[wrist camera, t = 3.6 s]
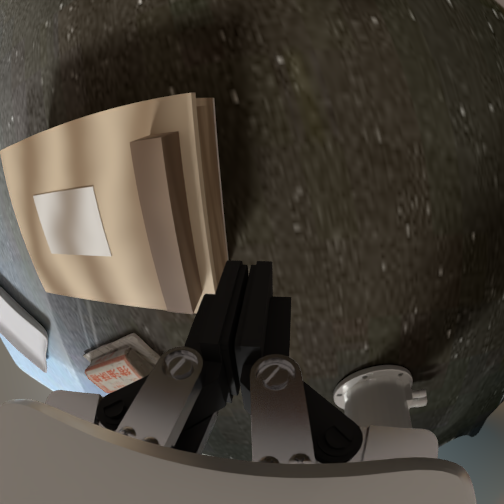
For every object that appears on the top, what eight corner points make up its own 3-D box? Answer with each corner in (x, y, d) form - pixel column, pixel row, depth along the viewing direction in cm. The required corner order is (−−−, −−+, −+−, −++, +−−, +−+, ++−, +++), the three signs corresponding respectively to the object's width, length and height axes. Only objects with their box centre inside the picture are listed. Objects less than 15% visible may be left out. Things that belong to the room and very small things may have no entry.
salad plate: (-12, 263, 38) (-22, 272, 35) (55, 327, 42) (46, 339, 39) (-4, 314, 48) (-11, 322, 45) (52, 365, 52) (46, 374, 49)
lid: (195, 92, 15) (174, 92, 12) (220, 308, 23) (211, 337, 20) (5, 148, 18) (-19, 159, 15) (49, 287, 26) (33, 305, 23)
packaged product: (113, 401, 44) (73, 369, 40) (122, 383, 48) (85, 351, 44) (171, 394, 37) (121, 353, 33) (180, 370, 41) (135, 329, 37)
